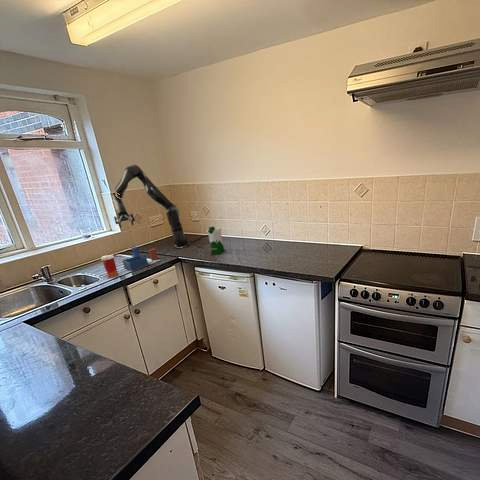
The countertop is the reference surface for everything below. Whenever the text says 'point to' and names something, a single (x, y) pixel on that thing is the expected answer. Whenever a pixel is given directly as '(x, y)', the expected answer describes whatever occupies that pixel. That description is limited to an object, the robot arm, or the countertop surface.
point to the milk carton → (215, 240)
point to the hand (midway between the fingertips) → (126, 226)
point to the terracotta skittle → (153, 254)
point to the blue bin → (135, 262)
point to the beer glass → (109, 265)
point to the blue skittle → (135, 251)
